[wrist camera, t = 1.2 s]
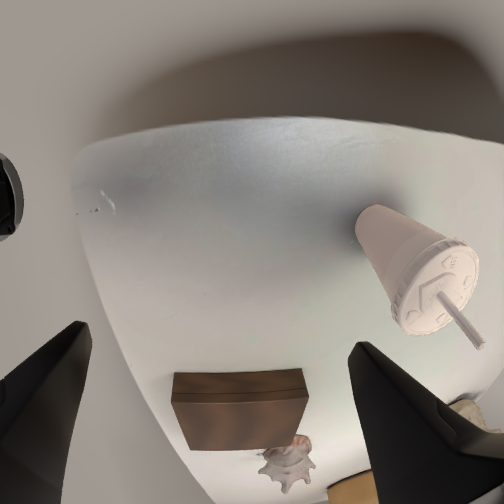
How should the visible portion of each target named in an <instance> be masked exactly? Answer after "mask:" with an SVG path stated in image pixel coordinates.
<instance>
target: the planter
mask: <svg viewBox="0 0 504 504" xmlns="http://www.w3.org/2000/svg"><path fill="white" fill-rule="evenodd" d="M327 493H328V499H329V502H330V504H379V502H378V497H377V491H376V487H375V482H374V477H373V473H372V470H369V471H366V472H363V473H360V474H357V475H355V476H352V477H349V478H347V479H345V480H342V481H340V482H338V483H336V484H334V485H333V486H331V487H330V488H329V490H328V491H327Z"/></svg>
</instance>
